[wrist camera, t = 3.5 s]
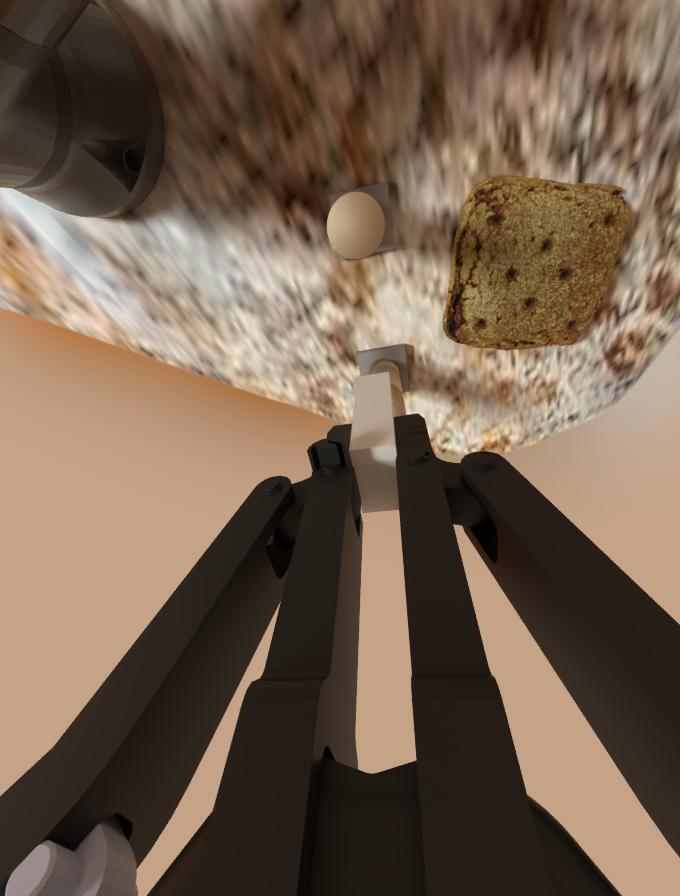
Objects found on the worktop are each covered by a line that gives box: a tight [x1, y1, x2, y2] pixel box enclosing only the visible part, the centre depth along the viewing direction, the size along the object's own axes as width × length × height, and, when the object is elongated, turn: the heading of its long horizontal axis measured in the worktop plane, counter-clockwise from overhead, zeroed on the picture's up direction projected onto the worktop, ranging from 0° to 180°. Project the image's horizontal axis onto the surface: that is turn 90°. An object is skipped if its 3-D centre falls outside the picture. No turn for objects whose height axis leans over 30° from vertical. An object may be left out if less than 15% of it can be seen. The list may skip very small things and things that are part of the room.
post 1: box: [327, 181, 394, 260], centre depth 26 cm, size 5×5×15 cm
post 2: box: [357, 344, 410, 417], centre depth 34 cm, size 5×5×15 cm
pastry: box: [443, 175, 631, 350], centre depth 33 cm, size 17×17×3 cm
